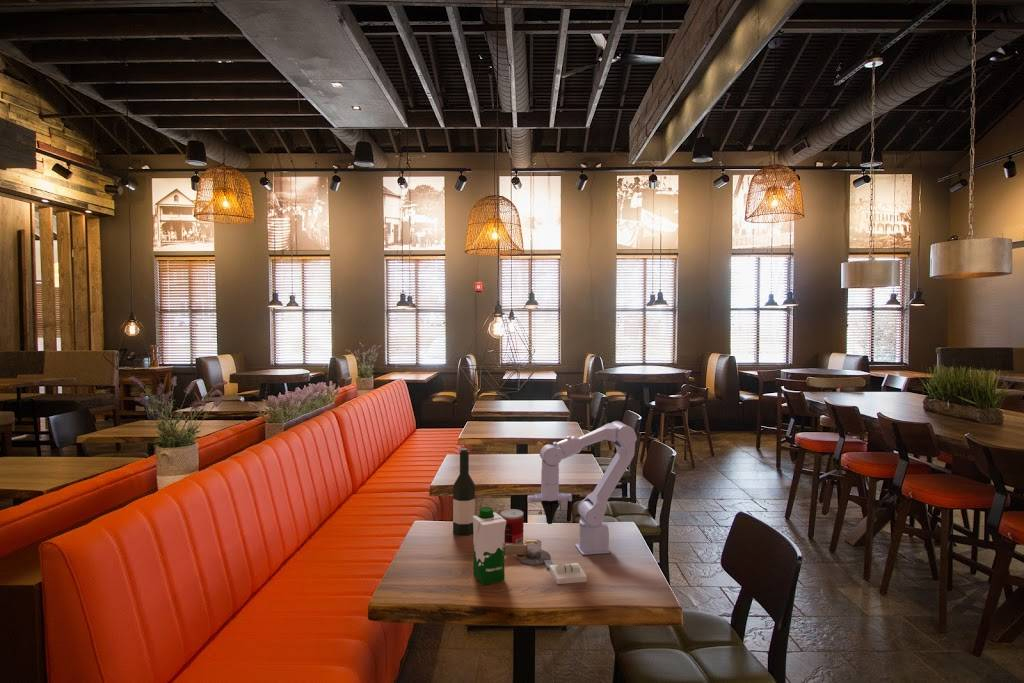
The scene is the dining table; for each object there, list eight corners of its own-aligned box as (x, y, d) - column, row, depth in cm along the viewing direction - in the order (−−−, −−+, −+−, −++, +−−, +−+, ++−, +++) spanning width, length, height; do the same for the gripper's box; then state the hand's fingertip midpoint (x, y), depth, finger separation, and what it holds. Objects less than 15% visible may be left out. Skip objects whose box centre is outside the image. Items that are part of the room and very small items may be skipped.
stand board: (577, 567, 170) (577, 556, 170) (586, 581, 161) (586, 569, 161) (549, 569, 168) (549, 558, 168) (557, 584, 159) (557, 572, 159)
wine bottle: (479, 528, 200) (479, 447, 199) (470, 537, 192) (470, 452, 191) (458, 525, 203) (458, 445, 201) (448, 534, 195) (448, 450, 193)
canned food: (524, 540, 190) (524, 509, 189) (522, 550, 182) (522, 517, 181) (502, 539, 191) (502, 508, 190) (499, 549, 183) (499, 516, 182)
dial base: (545, 549, 183) (545, 546, 183) (557, 569, 169) (557, 565, 169) (513, 551, 181) (513, 548, 181) (522, 571, 167) (522, 568, 167)
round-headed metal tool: (540, 551, 179) (540, 537, 179) (542, 558, 174) (542, 543, 174) (497, 552, 178) (497, 538, 178) (498, 559, 173) (498, 544, 173)
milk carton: (495, 568, 169) (496, 504, 168) (509, 581, 161) (509, 514, 160) (469, 574, 165) (469, 508, 164) (481, 587, 157) (482, 519, 156)
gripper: (567, 477, 185) (567, 517, 185) (525, 479, 182) (525, 519, 183) (574, 484, 178) (573, 525, 178) (530, 485, 175) (529, 527, 176)
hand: (549, 523), depth 180 cm, fingers closed
